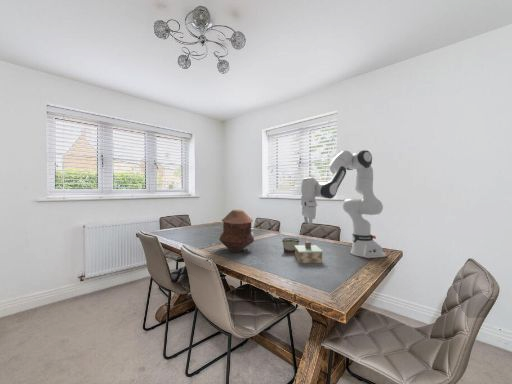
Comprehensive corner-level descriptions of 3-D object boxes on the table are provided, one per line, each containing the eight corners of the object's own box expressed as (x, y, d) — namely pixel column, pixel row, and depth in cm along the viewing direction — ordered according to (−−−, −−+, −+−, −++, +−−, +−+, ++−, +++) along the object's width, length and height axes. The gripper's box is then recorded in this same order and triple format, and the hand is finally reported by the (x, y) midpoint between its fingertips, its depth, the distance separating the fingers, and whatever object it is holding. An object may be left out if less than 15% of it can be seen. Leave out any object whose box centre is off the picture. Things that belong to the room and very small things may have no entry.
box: (315, 256, 157) (315, 246, 157) (322, 263, 143) (322, 252, 143) (294, 257, 156) (295, 246, 156) (299, 263, 142) (299, 252, 142)
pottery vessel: (222, 245, 187) (222, 208, 186) (254, 246, 186) (254, 208, 185) (216, 255, 161) (215, 211, 160) (252, 255, 160) (252, 212, 159)
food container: (298, 251, 170) (298, 237, 170) (299, 253, 164) (299, 239, 164) (281, 251, 171) (281, 237, 171) (281, 253, 165) (281, 239, 165)
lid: (316, 246, 157) (316, 239, 157) (323, 252, 142) (323, 244, 142) (294, 246, 157) (294, 239, 157) (299, 252, 142) (299, 244, 142)
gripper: (299, 201, 159) (299, 221, 159) (307, 203, 139) (307, 226, 139) (308, 201, 159) (308, 221, 160) (317, 203, 139) (317, 226, 139)
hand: (308, 224), depth 149 cm, fingers open, 8 cm apart
